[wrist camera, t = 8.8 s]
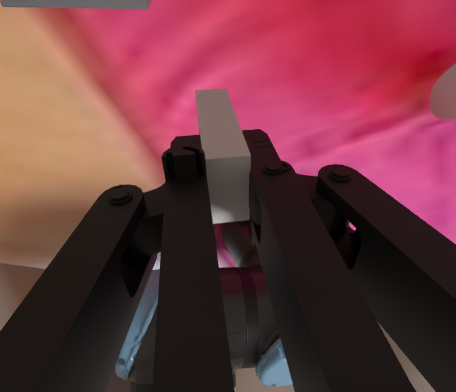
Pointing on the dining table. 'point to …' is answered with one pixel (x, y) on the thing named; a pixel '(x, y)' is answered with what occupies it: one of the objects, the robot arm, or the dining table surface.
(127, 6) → the button panel
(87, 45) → the dining table surface
